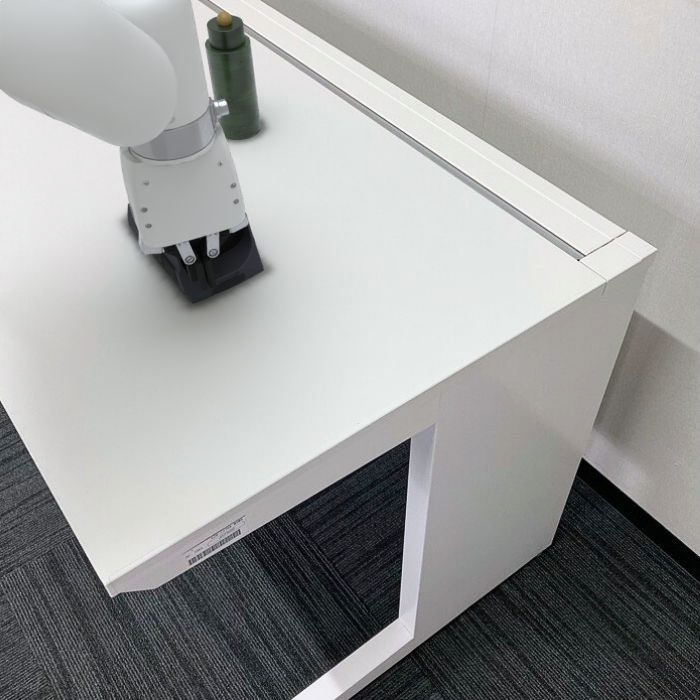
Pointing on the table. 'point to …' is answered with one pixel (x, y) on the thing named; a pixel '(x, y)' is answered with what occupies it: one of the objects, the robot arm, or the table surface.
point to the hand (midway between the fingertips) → (205, 281)
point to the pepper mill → (233, 75)
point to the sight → (233, 261)
